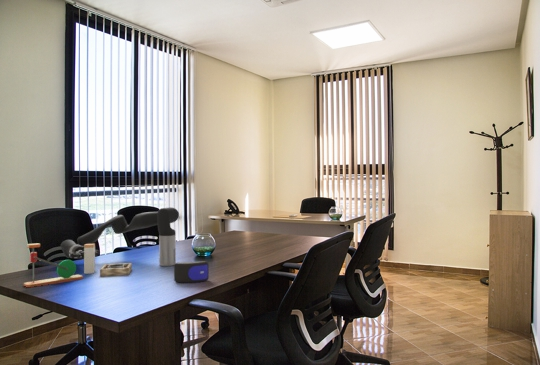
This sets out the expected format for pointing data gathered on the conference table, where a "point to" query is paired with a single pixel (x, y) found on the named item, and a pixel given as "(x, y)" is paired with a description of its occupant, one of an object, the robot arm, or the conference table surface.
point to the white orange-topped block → (89, 258)
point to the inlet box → (116, 269)
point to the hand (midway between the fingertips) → (88, 255)
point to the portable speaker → (191, 272)
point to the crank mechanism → (63, 270)
